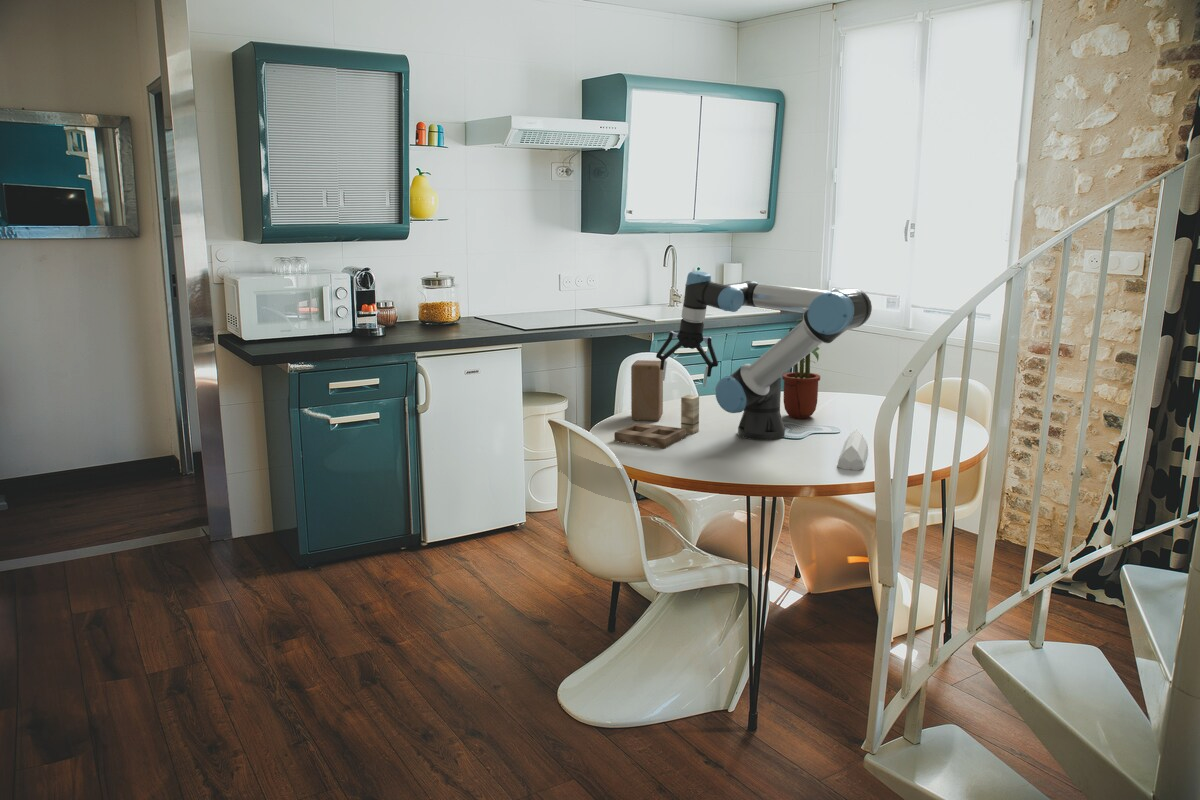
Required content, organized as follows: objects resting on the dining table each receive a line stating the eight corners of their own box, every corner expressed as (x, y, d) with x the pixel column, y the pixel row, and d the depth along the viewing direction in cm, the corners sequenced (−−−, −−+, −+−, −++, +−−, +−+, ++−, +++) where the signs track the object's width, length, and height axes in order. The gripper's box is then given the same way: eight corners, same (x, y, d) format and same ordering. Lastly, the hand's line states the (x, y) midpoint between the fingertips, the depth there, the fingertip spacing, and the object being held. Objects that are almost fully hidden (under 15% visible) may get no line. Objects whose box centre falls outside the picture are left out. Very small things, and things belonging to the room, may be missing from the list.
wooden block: (659, 421, 325) (659, 365, 320) (630, 420, 326) (630, 364, 322) (663, 415, 334) (663, 360, 330) (635, 414, 336) (635, 359, 332)
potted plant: (816, 422, 321) (820, 321, 314) (771, 419, 326) (774, 320, 319) (821, 411, 337) (825, 315, 330) (778, 408, 342) (781, 313, 335)
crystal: (838, 436, 288) (830, 456, 266) (859, 426, 285) (853, 446, 263) (849, 457, 288) (842, 479, 266) (870, 447, 285) (865, 469, 263)
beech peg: (698, 431, 311) (699, 396, 308) (693, 434, 307) (693, 398, 304) (686, 429, 313) (687, 394, 310) (680, 432, 309) (681, 397, 307)
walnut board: (685, 437, 303) (685, 428, 302) (664, 448, 290) (664, 439, 290) (636, 431, 312) (636, 422, 311) (614, 441, 299) (614, 432, 299)
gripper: (731, 322, 302) (721, 384, 308) (655, 312, 305) (647, 373, 311) (731, 327, 295) (721, 391, 301) (653, 316, 297) (645, 380, 304)
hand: (683, 382), depth 306 cm, fingers open, 13 cm apart
